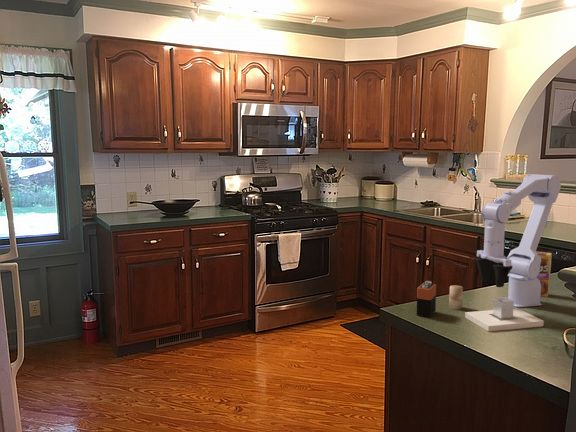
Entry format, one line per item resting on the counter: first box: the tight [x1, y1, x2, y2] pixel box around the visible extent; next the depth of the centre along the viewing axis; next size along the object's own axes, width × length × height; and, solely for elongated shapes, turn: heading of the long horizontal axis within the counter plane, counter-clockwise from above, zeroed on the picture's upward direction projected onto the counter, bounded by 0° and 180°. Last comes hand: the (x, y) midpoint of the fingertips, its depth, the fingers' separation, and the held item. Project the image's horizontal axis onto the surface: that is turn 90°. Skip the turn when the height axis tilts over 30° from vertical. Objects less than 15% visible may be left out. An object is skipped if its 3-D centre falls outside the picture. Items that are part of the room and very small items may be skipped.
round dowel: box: [448, 284, 464, 311], centre depth 161 cm, size 4×4×7 cm
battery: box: [416, 280, 437, 318], centre depth 155 cm, size 4×7×10 cm, turn 148°
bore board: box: [464, 307, 545, 332], centre depth 148 cm, size 18×12×2 cm, turn 102°
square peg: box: [492, 296, 515, 321], centre depth 148 cm, size 4×4×7 cm
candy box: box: [536, 250, 553, 297], centre depth 174 cm, size 9×4×15 cm, turn 56°
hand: (492, 283), depth 156 cm, fingers open, 7 cm apart
